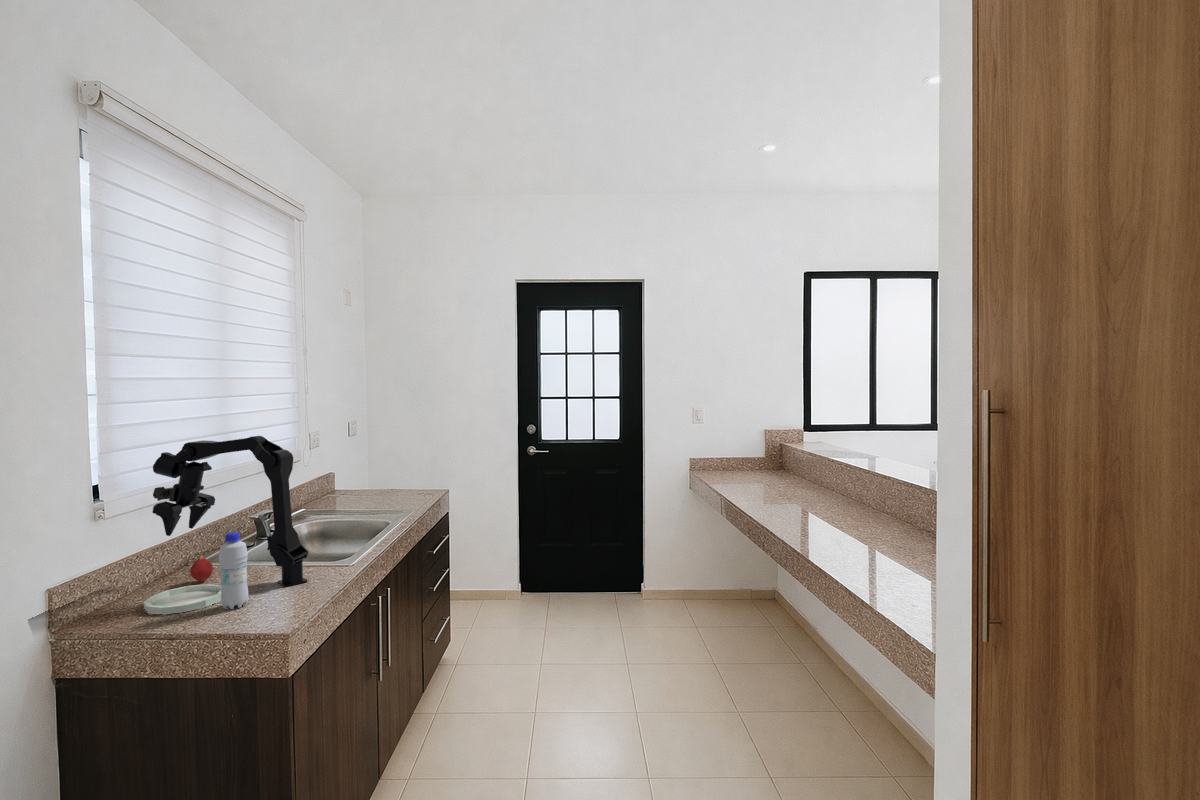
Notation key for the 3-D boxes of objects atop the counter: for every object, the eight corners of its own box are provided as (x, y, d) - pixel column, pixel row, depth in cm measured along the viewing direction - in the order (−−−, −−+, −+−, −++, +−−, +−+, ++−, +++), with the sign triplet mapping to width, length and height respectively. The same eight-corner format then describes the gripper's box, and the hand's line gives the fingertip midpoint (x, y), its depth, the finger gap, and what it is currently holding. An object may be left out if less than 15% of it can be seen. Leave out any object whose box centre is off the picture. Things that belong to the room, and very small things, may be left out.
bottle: (228, 613, 159) (226, 536, 159) (215, 608, 163) (212, 533, 162) (254, 604, 165) (252, 531, 164) (241, 600, 168) (238, 528, 168)
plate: (233, 601, 168) (233, 593, 168) (153, 620, 155) (153, 612, 155) (214, 586, 180) (213, 580, 180) (138, 603, 167) (138, 596, 167)
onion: (197, 579, 188) (196, 553, 187) (217, 578, 188) (216, 552, 188) (186, 585, 182) (185, 559, 182) (206, 584, 182) (205, 558, 182)
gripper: (187, 471, 193) (177, 518, 194) (140, 480, 175) (129, 533, 175) (220, 479, 193) (210, 527, 194) (176, 489, 174) (165, 542, 175)
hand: (179, 531), depth 184 cm, fingers open, 9 cm apart
